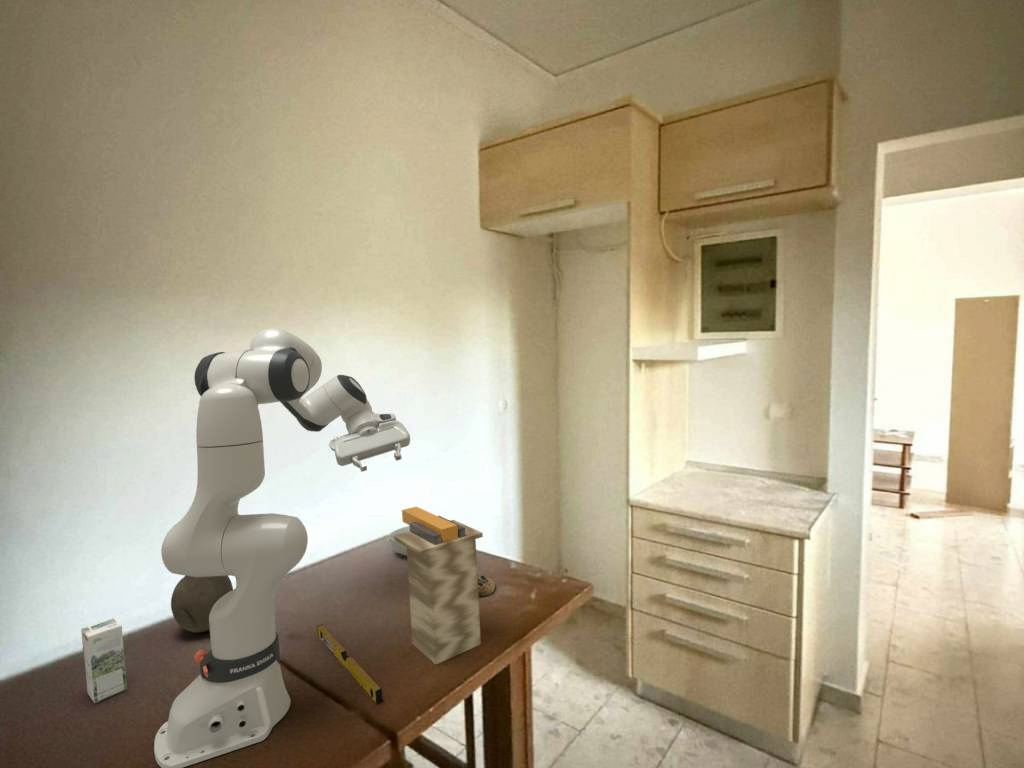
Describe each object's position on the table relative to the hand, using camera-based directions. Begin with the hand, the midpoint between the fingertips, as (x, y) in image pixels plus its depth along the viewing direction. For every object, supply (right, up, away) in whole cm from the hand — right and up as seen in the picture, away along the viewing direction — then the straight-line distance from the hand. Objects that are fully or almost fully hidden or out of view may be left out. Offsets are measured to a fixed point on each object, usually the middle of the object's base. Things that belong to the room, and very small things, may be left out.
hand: (381, 464), depth 138 cm
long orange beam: (+15, -14, -13) cm, 24 cm away
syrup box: (-51, -44, -28) cm, 73 cm away
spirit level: (-2, -42, -23) cm, 47 cm away
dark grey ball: (-45, -42, -3) cm, 61 cm away
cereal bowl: (+1, -37, +42) cm, 56 cm away
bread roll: (+24, -38, +12) cm, 47 cm away
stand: (+18, -40, -15) cm, 46 cm away
